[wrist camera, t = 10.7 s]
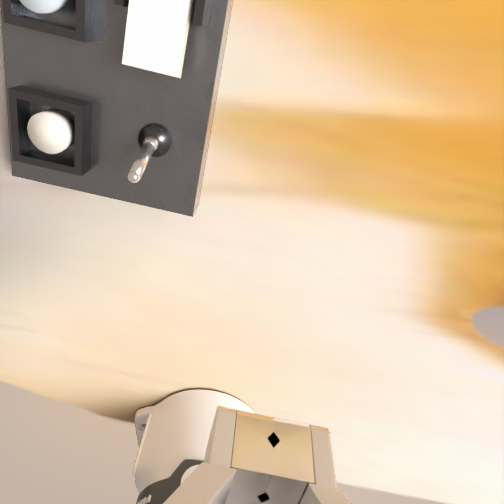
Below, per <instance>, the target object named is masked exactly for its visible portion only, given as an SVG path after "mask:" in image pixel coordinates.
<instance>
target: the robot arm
mask: <svg viewBox="0 0 504 504" xmlns="http://www.w3.org/2000/svg"><path fill="white" fill-rule="evenodd" d="M134 421H135V427H136V433H137V438H138V444H139V451H138V454H137V458H136V461H135V465H134V468H133V476H135V483H136V486H137V489H138V491H139V494H140V495H139V497H138V499H137V503H136V504H352V503H351V502H350V500H349V499H348V498H347V496H346V495H345V493H344V492H343V490H340V489H337V486H336V478H335V469H334V461H333V453H332V445H331V437H330V431H329V430H328V428H324V427H319V426H314V425H308V424H306V423H301V422H296V421H290V420H285V419H280V418H275V417H272V418H271V417H267V416H263V415H259V414H255V413H254V412H253V410H252V409H251V408H250V407H249V406H247V405H246V404H245V403H243V402H242V401H240V400H238V399H237V398H235V397H233V396H230V395H228V394H225V393H221V392H217V391H212V390H187V391H182V392H179V393H176V394H173V395H171V396H169V397H167V398H166V399H164V400H163V401H161V402H160V403H158V404H157V405H154V406H149V407H145V408H142V409H139V410H138V411H137V412H136V415H135V420H134Z"/></svg>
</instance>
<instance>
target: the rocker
mask: <svg viewBox="0 0 504 504" xmlns="http://www.w3.org/2000/svg"><path fill="white" fill-rule="evenodd" d="M192 6H193V0H129V6H128V14H127V23H126V32H125V41H124V49H123V58H122V64H124V65H127V66H131V67H135V68H139V69H144V70H148V71H152V72H156V73H160V74H164V75H168V76H172V77H176V78H180V79H181V74H182V68H183V62H184V55H185V49H186V43H187V37H188V30H189V24H190V19H191V13H192Z"/></svg>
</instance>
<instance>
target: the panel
mask: <svg viewBox="0 0 504 504" xmlns="http://www.w3.org/2000/svg"><path fill="white" fill-rule="evenodd" d="M232 4H233V0H193V6H192V13H191V19H190V24H189V30H188V37H187V43H186V49H185V55H184V62H183V68H182V74H181V79H180V78H176V77H172V76H168V75H164V74H160V73H156V72H152V71H148V70H144V69H139V68H135V67H131V66H127V65H124V64H122V58H123V49H124V41H125V32H126V23H127V14H128V6H129V0H68V1H67V4H66V5H65V7H64V8H63V9H62V10H61V11H59V12H57V13H53V14H48V13H37V12H33V11H31V10H30V9H28V8H27V7H25V6H24V5H23V4H22V3H21V2H20V0H1V15H2V30H3V45H4V60H5V75H6V90H7V105H8V120H9V135H10V149H11V164H12V176H17V177H21V178H26V179H30V180H34V181H39V182H43V183H48V184H52V185H56V186H61V187H65V188H70V189H74V190H78V191H83V192H87V193H91V194H96V195H100V196H105V197H109V198H113V199H118V200H122V201H127V202H131V203H135V204H140V205H144V206H148V207H153V208H157V209H162V210H166V211H170V212H175V213H179V214H184V215H188V216H192V217H193V215H194V213H195V210H196V208H197V206H198V204H199V198H200V193H201V187H202V181H203V175H204V169H205V163H206V157H207V151H208V145H209V140H210V134H211V128H212V122H213V116H214V110H215V104H216V98H217V92H218V86H219V81H220V75H221V69H222V63H223V57H224V51H225V45H226V39H227V33H228V27H229V22H230V16H231V10H232ZM45 110H55V111H58V112H60V113H62V114H64V115H65V116H66V117H67V118H68V119H69V120H70V122H71V123H72V125H73V128H74V132H75V138H74V141H73V143H72V145H71V146H70V147H68V148H67V149H65V150H63V151H62V152H60V153H57V154H48V153H45V152H43V151H41V150H39V149H38V148H37V147H36V146H35V145H34V144H33V143H32V141H31V140H30V138H29V135H28V131H27V125H28V122H29V120H30V118H31V117H32V116H33V115H35V114H37V113H40V112H42V111H45ZM148 136H153V137H155V138H156V139H157V140H158V143H159V146H158V148H157V150H156V151H154V152H153V154H152V156H151V158H150V160H149V162H148V164H147V166H146V168H145V170H144V172H143V174H142V176H141V178H140V180H139V181H138V182H136V183H132V182H130V181H129V179H128V173H129V171H130V169H131V167H132V166H133V164H134V162H135V160H136V158H137V156H138V154H139V152H140V151H141V149H142V147H143V141H144V139H145V138H146V137H148Z"/></svg>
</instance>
